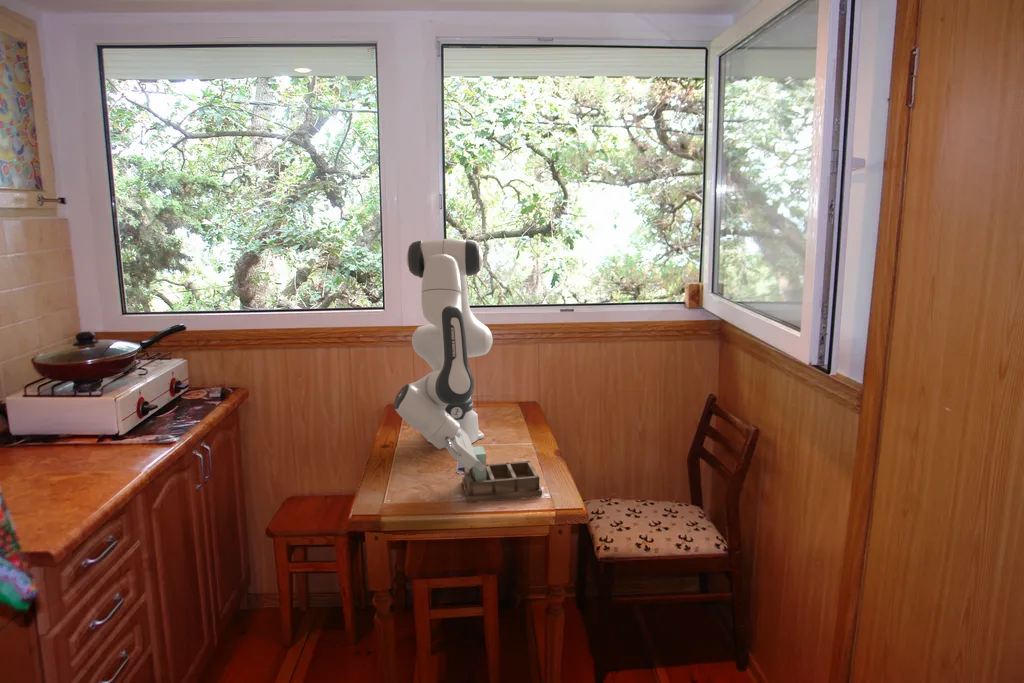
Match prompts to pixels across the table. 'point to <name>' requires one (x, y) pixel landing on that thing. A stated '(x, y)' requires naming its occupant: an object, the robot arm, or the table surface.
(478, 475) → the sage block
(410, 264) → the robot arm
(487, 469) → the walnut rack
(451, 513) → the table surface
